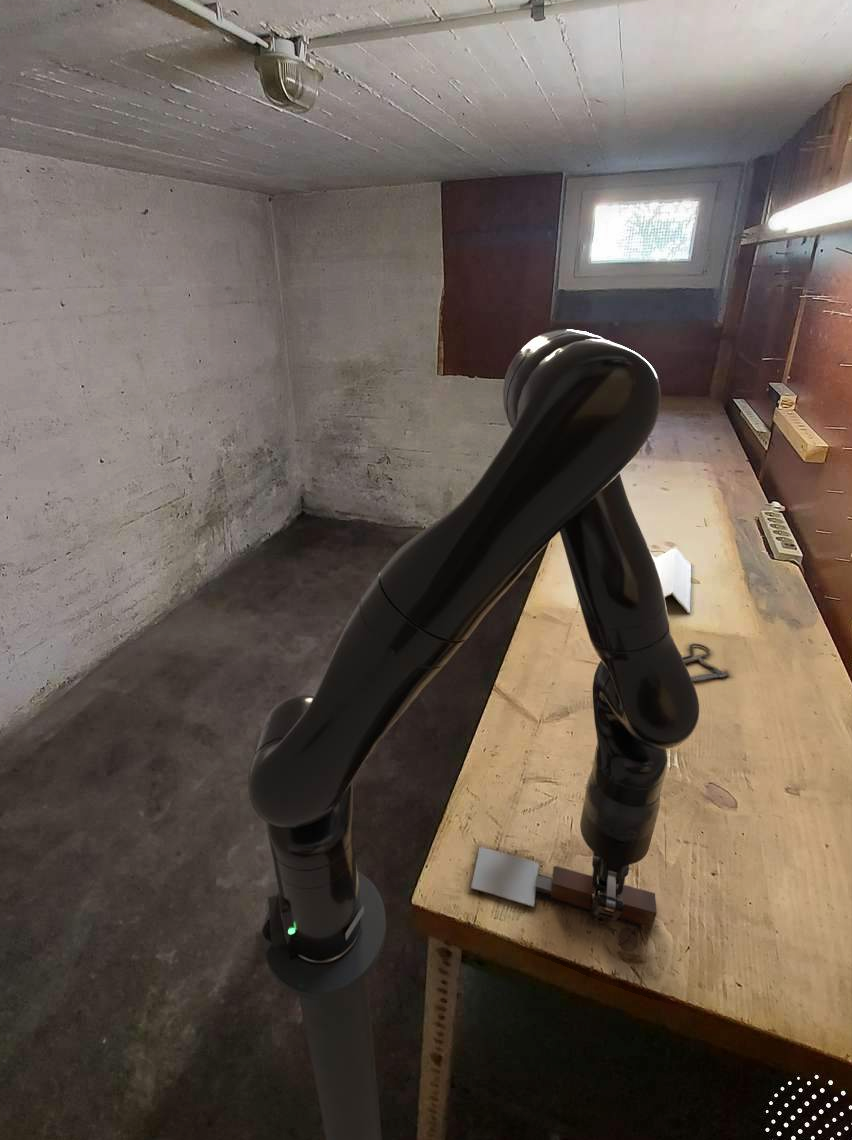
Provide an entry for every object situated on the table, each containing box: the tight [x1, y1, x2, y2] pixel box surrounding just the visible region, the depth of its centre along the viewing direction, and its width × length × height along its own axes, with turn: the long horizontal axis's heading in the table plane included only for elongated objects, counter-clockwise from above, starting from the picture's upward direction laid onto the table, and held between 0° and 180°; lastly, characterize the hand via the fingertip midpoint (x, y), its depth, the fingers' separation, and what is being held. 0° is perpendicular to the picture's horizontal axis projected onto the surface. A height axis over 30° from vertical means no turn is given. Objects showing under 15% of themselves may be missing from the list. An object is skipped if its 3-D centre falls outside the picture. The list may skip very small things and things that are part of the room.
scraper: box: [470, 846, 657, 929], centre depth 71 cm, size 22×6×3 cm, turn 72°
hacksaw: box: [682, 643, 731, 682], centre depth 110 cm, size 24×10×2 cm, turn 103°
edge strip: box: [535, 873, 643, 929], centre depth 72 cm, size 18×3×1 cm, turn 72°
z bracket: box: [651, 546, 692, 614], centre depth 139 cm, size 12×25×6 cm
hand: (599, 902), depth 70 cm, fingers open, 3 cm apart
